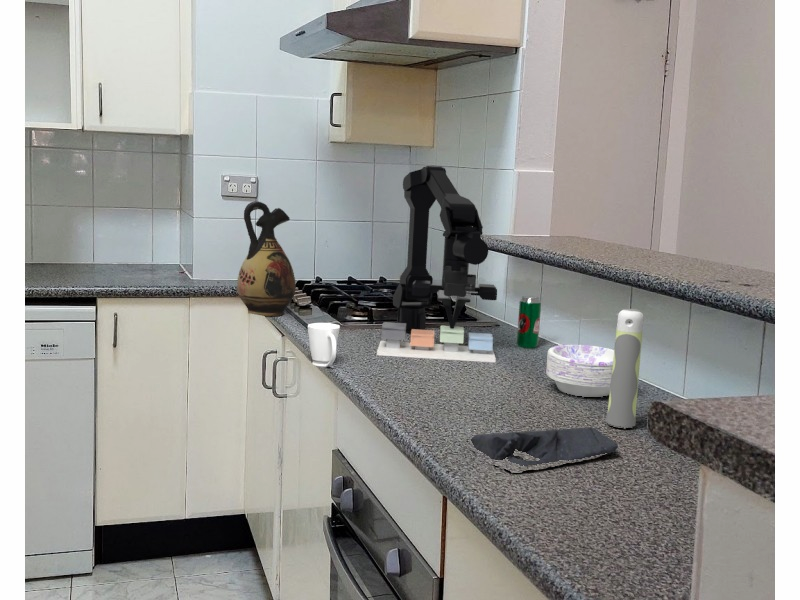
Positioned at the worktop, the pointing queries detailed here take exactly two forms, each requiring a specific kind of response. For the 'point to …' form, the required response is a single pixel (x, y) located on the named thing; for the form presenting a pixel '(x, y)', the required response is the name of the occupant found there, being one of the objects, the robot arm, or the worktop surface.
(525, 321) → the soda can
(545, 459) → the crumpled dark cloth
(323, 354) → the cup
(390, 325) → the key charcoal
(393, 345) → the keypad
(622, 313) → the spray bottle
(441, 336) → the key sage
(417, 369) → the worktop surface
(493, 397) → the worktop surface
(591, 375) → the paper bowls
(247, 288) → the ceramic jug
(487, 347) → the key blue
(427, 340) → the key terracotta
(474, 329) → the worktop surface
